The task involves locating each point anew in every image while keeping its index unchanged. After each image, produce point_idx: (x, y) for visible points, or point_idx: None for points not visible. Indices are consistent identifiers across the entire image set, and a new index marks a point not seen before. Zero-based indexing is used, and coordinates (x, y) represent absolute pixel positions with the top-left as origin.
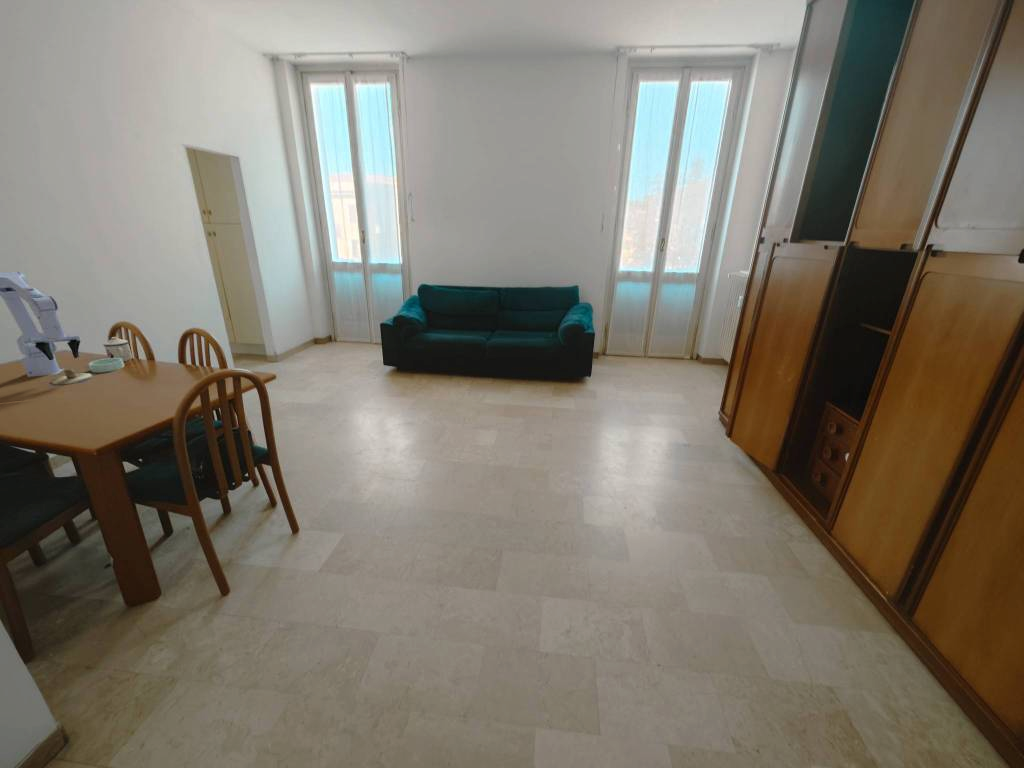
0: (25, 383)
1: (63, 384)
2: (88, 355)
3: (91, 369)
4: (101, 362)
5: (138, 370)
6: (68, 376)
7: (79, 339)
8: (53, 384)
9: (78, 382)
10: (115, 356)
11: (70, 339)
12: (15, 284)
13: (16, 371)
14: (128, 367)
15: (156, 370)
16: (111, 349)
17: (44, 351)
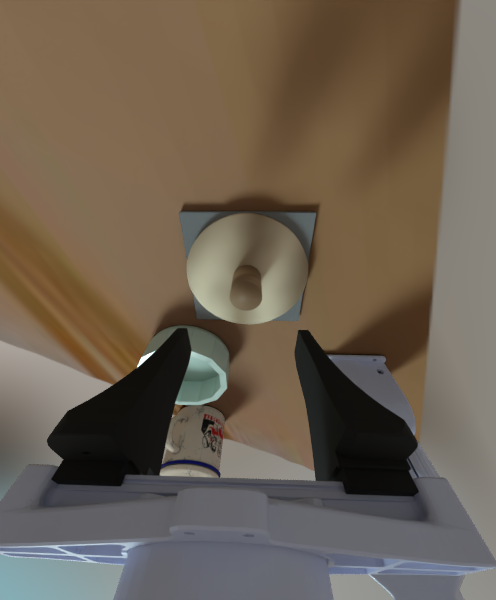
0: (387, 303)
1: (256, 212)
2: (286, 455)
3: (221, 350)
4: (210, 389)
5: (84, 316)
6: (250, 271)
7: (15, 481)
8: (295, 230)
9: (207, 220)
10: (197, 421)
11: (112, 496)
12: None
13: None
14: None
15: (11, 293)
16: (195, 447)
17: (332, 377)
